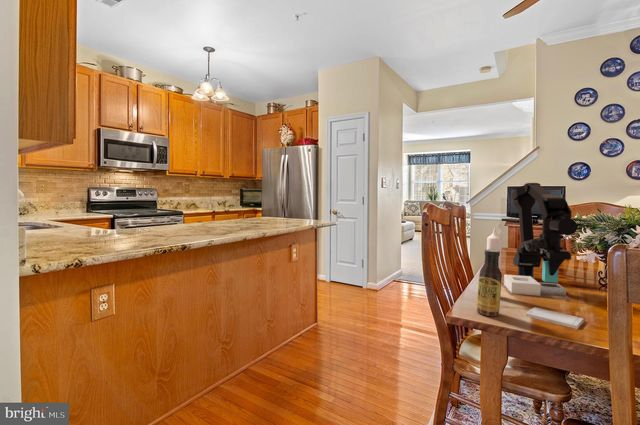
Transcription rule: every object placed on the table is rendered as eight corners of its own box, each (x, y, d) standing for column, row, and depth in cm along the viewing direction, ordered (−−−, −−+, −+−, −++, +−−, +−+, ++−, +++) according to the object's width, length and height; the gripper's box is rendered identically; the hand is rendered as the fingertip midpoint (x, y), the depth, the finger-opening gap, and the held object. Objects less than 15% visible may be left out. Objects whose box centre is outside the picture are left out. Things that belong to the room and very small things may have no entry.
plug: (542, 279, 120) (542, 261, 119) (554, 280, 118) (555, 261, 118) (544, 281, 117) (545, 262, 116) (557, 282, 116) (558, 263, 115)
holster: (533, 288, 122) (534, 281, 122) (558, 290, 120) (558, 283, 120) (539, 293, 116) (540, 286, 116) (565, 295, 114) (565, 288, 113)
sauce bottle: (473, 313, 99) (475, 249, 98) (480, 308, 104) (482, 247, 103) (496, 319, 95) (498, 252, 94) (503, 314, 99) (505, 250, 98)
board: (501, 285, 130) (501, 282, 130) (555, 289, 124) (555, 287, 124) (511, 297, 115) (511, 294, 115) (573, 303, 109) (573, 300, 109)
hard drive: (525, 312, 97) (577, 325, 88) (534, 306, 103) (584, 317, 93) (525, 318, 98) (577, 331, 88) (534, 311, 103) (583, 323, 94)
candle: (500, 296, 116) (503, 227, 114) (506, 303, 109) (509, 229, 107) (479, 295, 118) (481, 227, 116) (483, 301, 111) (485, 229, 109)
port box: (503, 284, 128) (504, 274, 128) (530, 286, 125) (530, 276, 125) (511, 293, 117) (511, 282, 116) (540, 295, 114) (540, 284, 113)
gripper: (519, 228, 128) (517, 267, 129) (534, 234, 110) (532, 278, 111) (552, 229, 124) (550, 269, 125) (573, 235, 107) (570, 281, 108)
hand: (550, 274), depth 118 cm, fingers closed on plug, 3 cm apart
